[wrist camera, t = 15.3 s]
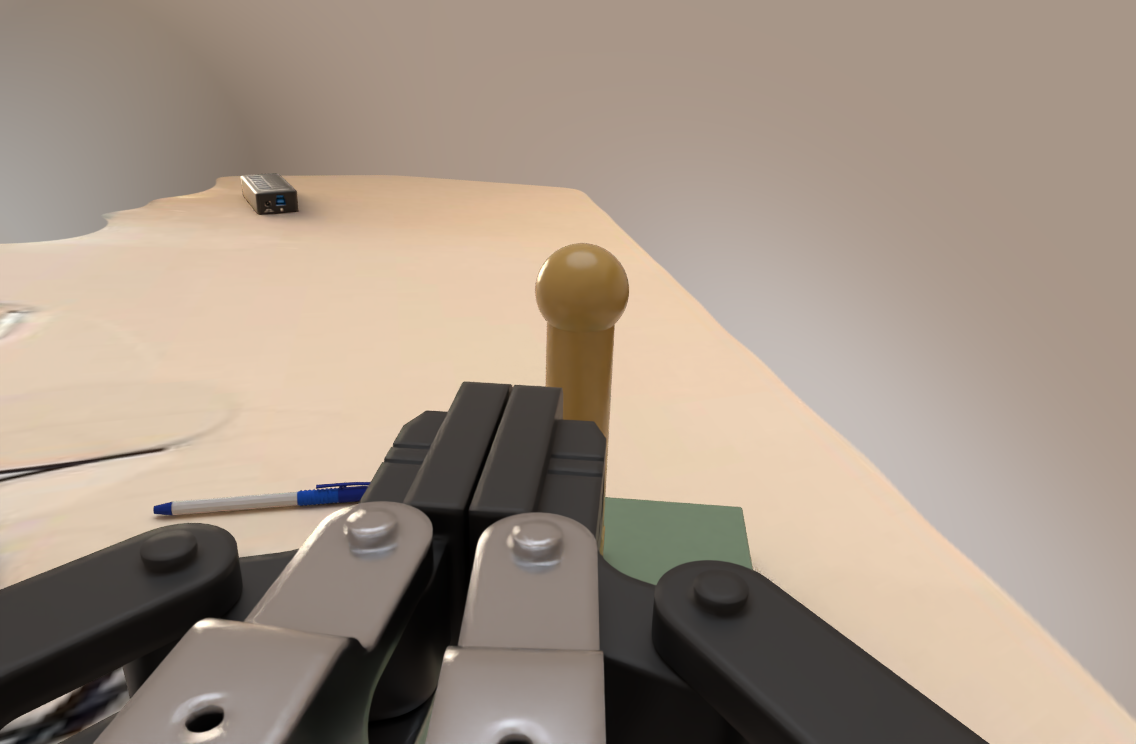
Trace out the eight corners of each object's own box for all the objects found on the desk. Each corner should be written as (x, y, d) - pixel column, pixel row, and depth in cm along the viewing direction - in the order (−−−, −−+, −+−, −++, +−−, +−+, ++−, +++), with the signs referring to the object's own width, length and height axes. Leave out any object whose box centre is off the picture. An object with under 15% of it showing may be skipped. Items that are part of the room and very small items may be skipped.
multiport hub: (280, 192, 106) (278, 172, 105) (299, 211, 97) (297, 190, 96) (242, 194, 104) (240, 175, 103) (258, 214, 95) (255, 193, 94)
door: (736, 553, 39) (748, 458, 37) (824, 1148, 19) (860, 1007, 17) (432, 530, 40) (428, 436, 38) (206, 1070, 20) (173, 929, 18)
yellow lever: (613, 551, 35) (633, 226, 30) (597, 775, 25) (622, 344, 20) (539, 545, 35) (546, 222, 30) (493, 765, 25) (490, 335, 20)
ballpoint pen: (384, 492, 43) (383, 474, 43) (385, 501, 42) (384, 483, 42) (156, 513, 41) (153, 495, 41) (153, 523, 40) (149, 505, 40)
